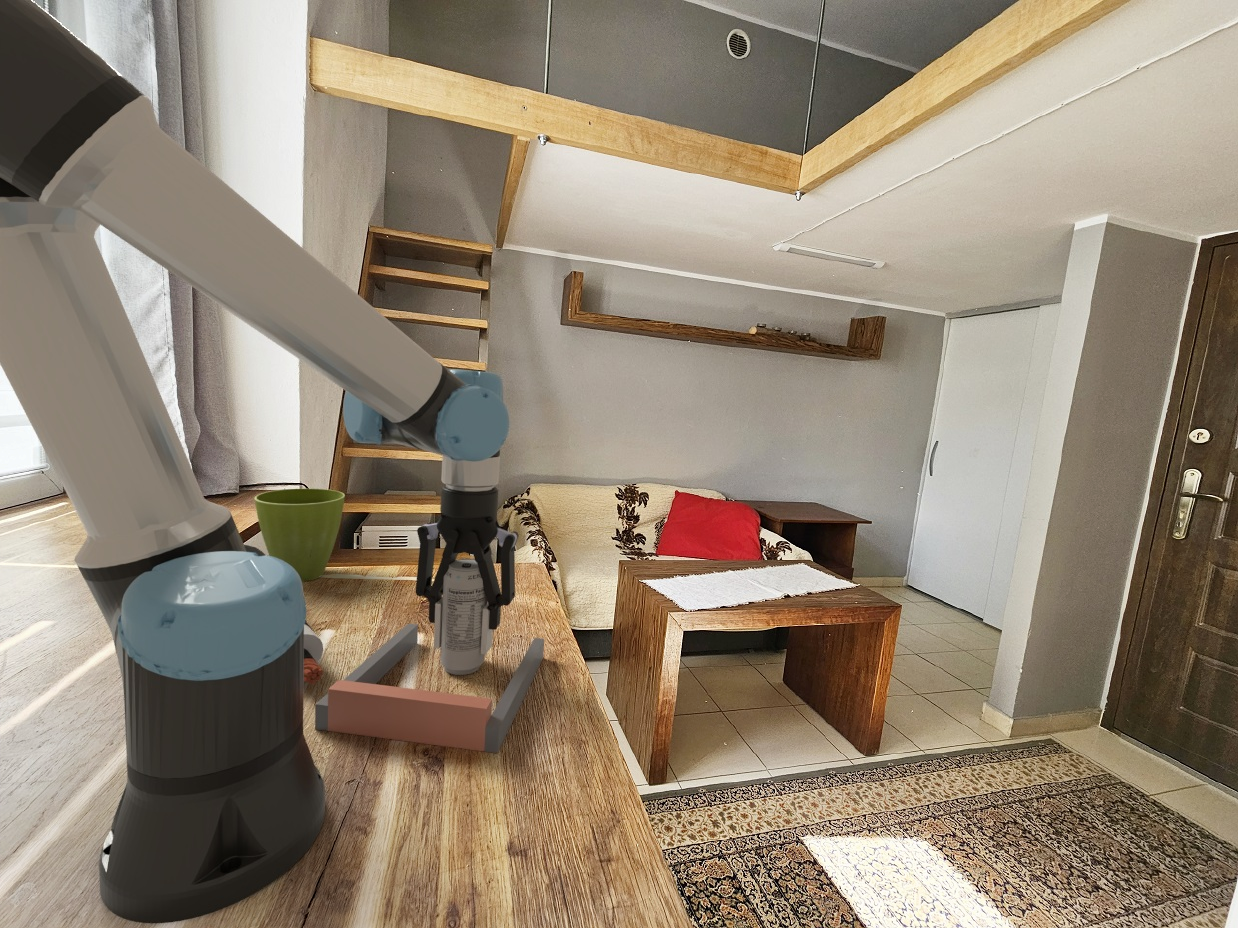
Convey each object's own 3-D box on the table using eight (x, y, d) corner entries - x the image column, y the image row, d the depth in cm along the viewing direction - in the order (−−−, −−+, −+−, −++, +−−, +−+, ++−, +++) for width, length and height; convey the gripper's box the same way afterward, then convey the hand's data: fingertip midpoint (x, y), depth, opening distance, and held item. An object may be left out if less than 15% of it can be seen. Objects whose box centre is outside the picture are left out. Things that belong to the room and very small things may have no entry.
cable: (292, 731, 67) (250, 679, 62) (217, 615, 88) (181, 569, 83) (368, 673, 73) (335, 621, 68) (280, 578, 94) (251, 532, 89)
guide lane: (497, 753, 59) (499, 710, 59) (315, 728, 61) (315, 687, 60) (543, 657, 81) (545, 626, 80) (407, 642, 83) (408, 610, 82)
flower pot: (307, 594, 97) (308, 507, 95) (234, 583, 100) (233, 498, 98) (359, 569, 112) (361, 493, 110) (295, 560, 114) (295, 485, 112)
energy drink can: (485, 655, 80) (490, 557, 78) (482, 676, 74) (487, 571, 73) (443, 655, 79) (447, 556, 77) (437, 677, 73) (441, 570, 71)
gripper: (545, 487, 77) (535, 642, 79) (415, 475, 78) (410, 628, 81) (532, 496, 69) (522, 667, 72) (389, 483, 71) (385, 651, 73)
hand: (463, 646), depth 76 cm, fingers closed on energy drink can, 6 cm apart
